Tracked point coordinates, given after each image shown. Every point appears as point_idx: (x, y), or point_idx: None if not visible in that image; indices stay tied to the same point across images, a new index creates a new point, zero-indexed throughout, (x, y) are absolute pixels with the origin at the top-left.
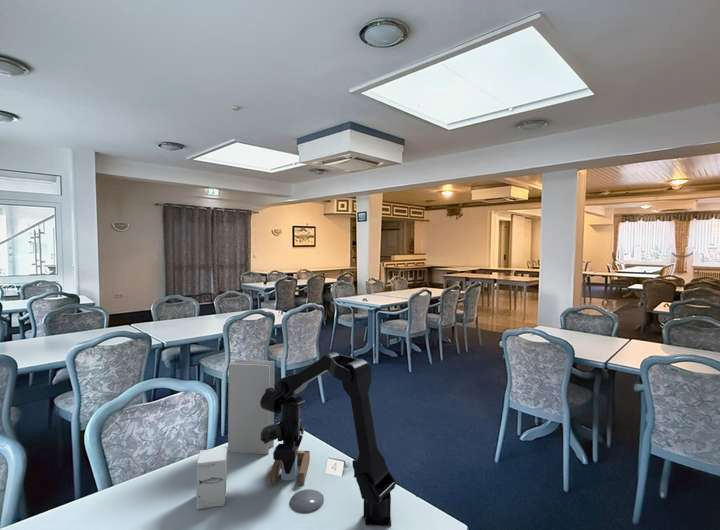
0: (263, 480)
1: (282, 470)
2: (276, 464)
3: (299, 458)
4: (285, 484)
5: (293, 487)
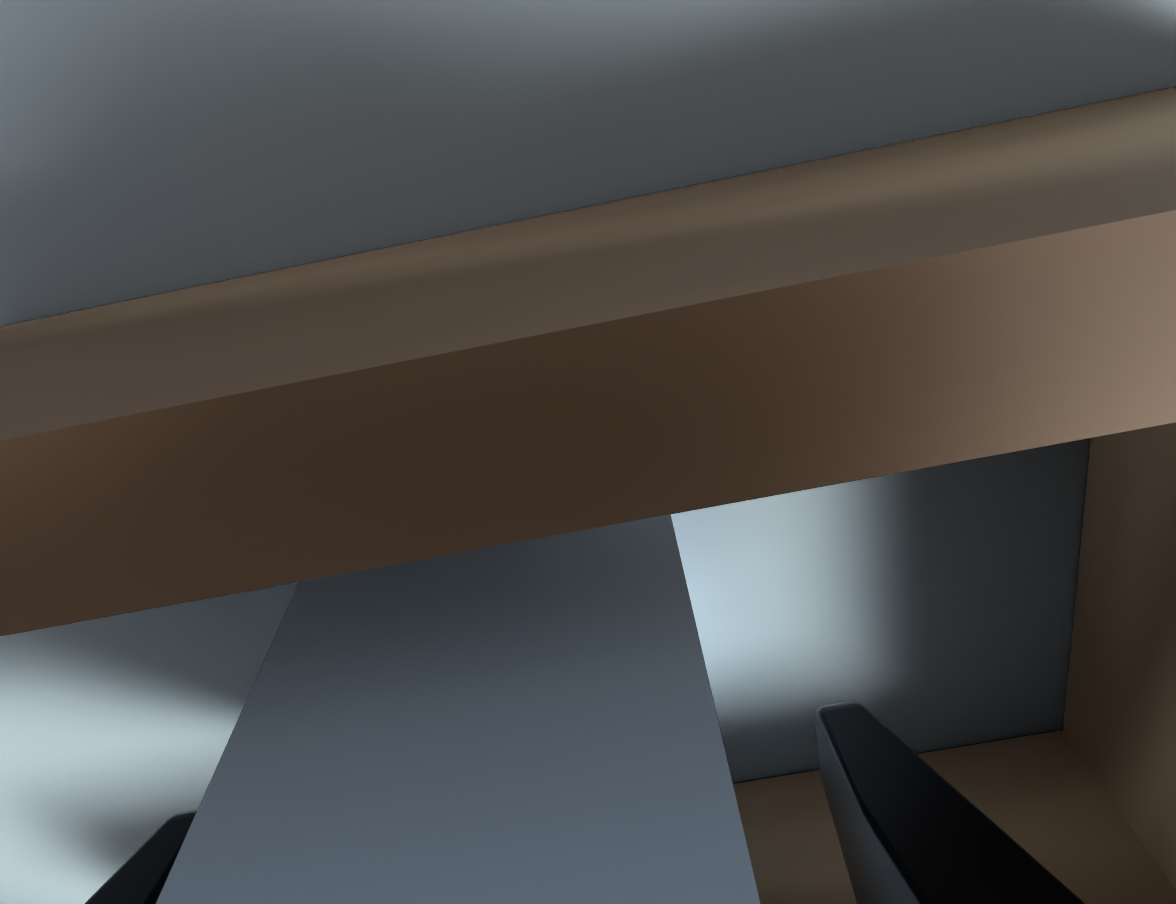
0: (82, 47)
1: (257, 713)
2: (388, 504)
3: (1151, 742)
4: (196, 655)
5: (175, 807)
